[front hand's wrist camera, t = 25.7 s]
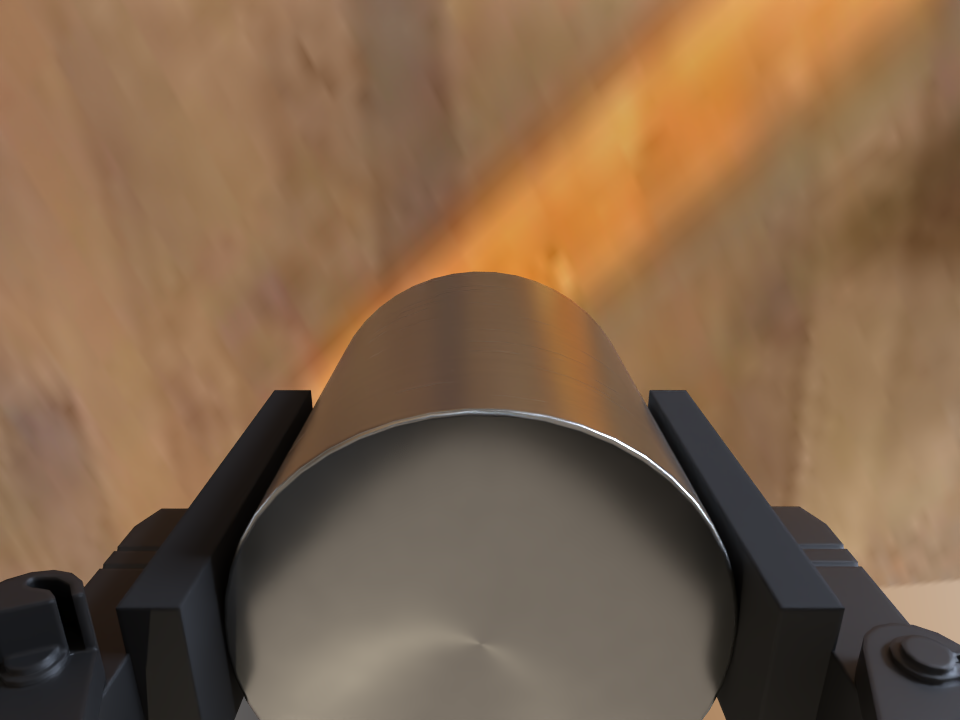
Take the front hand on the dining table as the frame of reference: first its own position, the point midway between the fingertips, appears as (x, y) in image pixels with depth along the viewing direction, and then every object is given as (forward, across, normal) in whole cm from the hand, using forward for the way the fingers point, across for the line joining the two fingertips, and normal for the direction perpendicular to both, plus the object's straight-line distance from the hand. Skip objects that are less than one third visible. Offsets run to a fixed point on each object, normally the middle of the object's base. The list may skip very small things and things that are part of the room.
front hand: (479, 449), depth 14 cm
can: (+2, 0, 0) cm, 2 cm away
